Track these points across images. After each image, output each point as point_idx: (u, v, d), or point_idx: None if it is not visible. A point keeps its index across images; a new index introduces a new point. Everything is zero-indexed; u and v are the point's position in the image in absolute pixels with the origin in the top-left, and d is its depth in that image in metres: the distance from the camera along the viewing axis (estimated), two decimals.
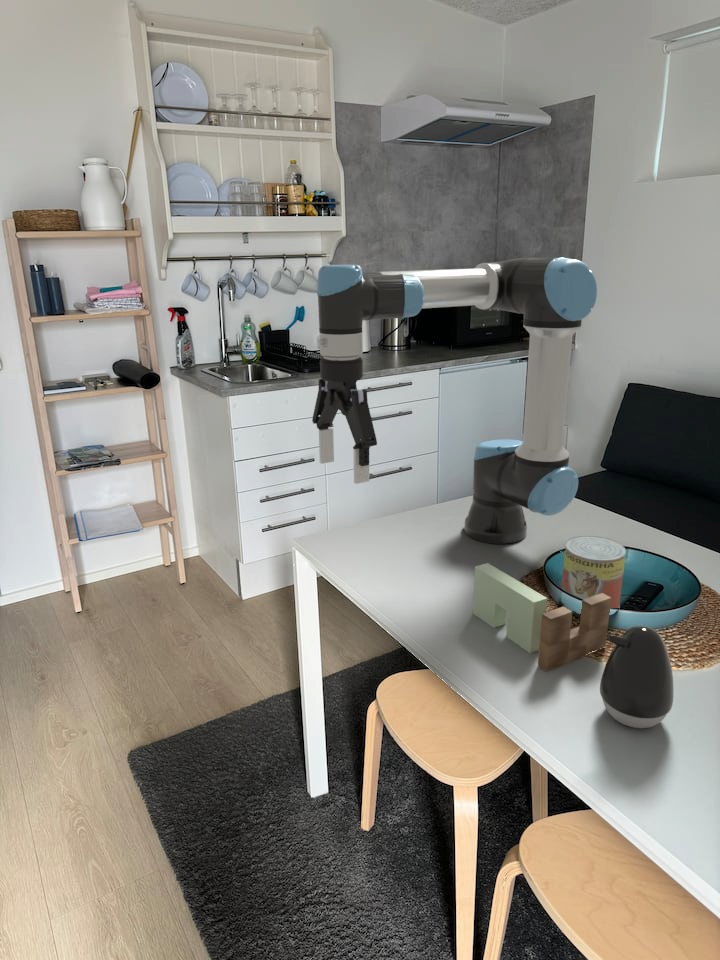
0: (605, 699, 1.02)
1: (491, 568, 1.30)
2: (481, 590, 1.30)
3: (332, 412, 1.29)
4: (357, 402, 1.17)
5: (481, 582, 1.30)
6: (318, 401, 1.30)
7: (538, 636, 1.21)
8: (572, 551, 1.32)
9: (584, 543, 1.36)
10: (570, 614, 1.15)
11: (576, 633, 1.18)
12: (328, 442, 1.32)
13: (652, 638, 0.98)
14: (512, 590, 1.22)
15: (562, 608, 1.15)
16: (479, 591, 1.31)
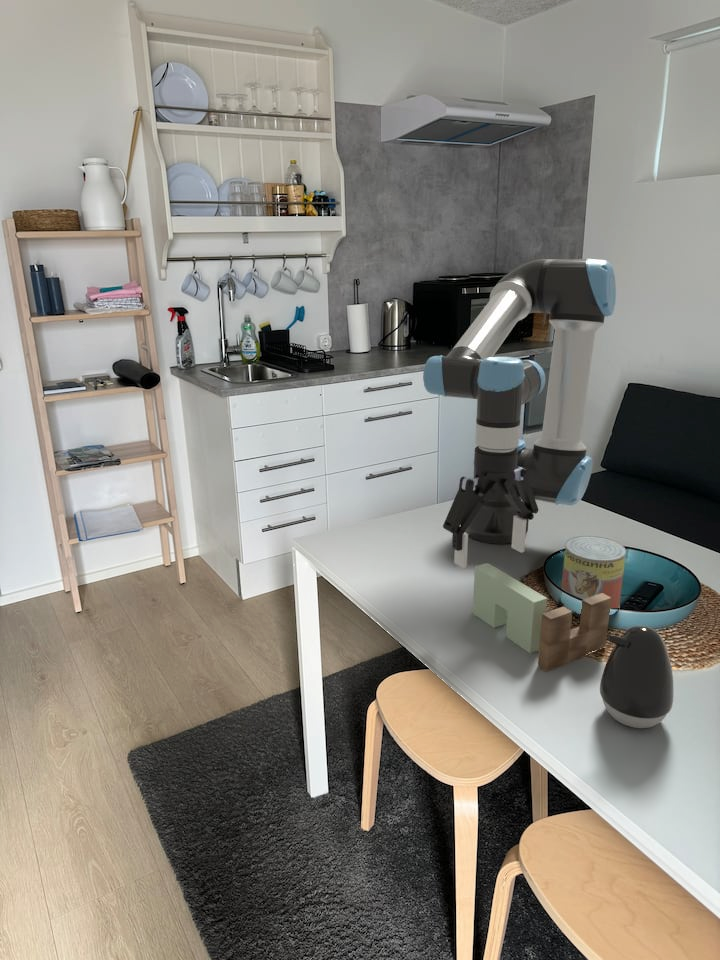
0: (605, 699, 1.02)
1: (491, 568, 1.30)
2: (481, 590, 1.30)
3: (512, 501, 1.27)
4: (460, 488, 1.21)
5: (481, 582, 1.30)
6: None
7: (538, 636, 1.21)
8: (572, 551, 1.32)
9: (584, 543, 1.36)
10: (570, 614, 1.15)
11: (576, 633, 1.18)
12: (518, 531, 1.30)
13: (652, 638, 0.98)
14: (512, 590, 1.22)
15: (562, 608, 1.15)
16: (479, 591, 1.31)
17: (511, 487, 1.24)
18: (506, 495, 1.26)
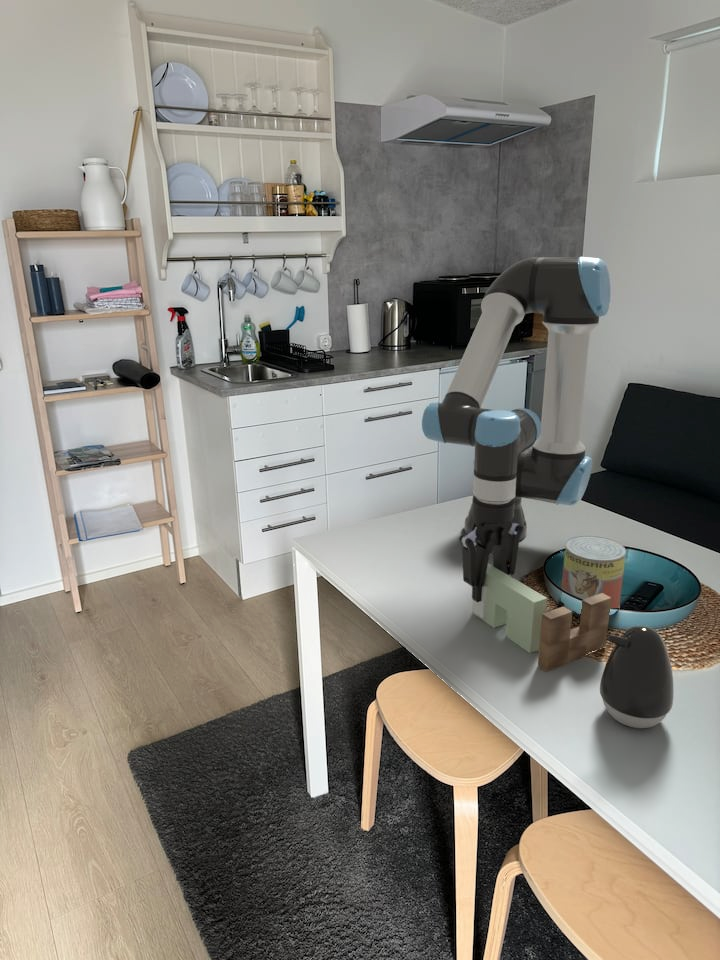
0: (605, 699, 1.02)
1: (491, 568, 1.30)
2: None
3: (497, 555, 1.29)
4: (463, 546, 1.25)
5: None
6: None
7: (538, 636, 1.21)
8: (572, 551, 1.32)
9: (584, 543, 1.36)
10: (570, 614, 1.15)
11: (576, 633, 1.18)
12: None
13: (652, 638, 0.98)
14: (512, 590, 1.22)
15: (562, 608, 1.15)
16: None
17: (505, 539, 1.27)
18: (495, 547, 1.29)
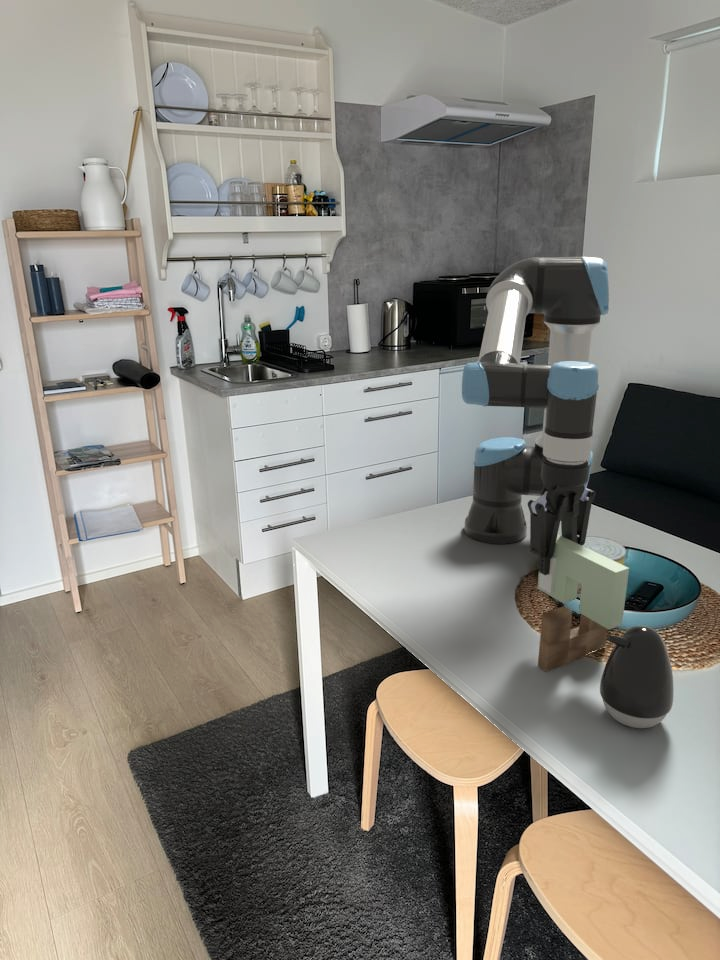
0: (605, 699, 1.02)
1: (560, 538, 1.18)
2: None
3: (567, 524, 1.17)
4: (531, 512, 1.14)
5: None
6: None
7: (618, 611, 1.09)
8: None
9: None
10: (570, 614, 1.15)
11: (576, 633, 1.18)
12: None
13: (652, 638, 0.98)
14: (587, 560, 1.10)
15: (562, 608, 1.15)
16: None
17: (577, 505, 1.15)
18: (565, 514, 1.17)
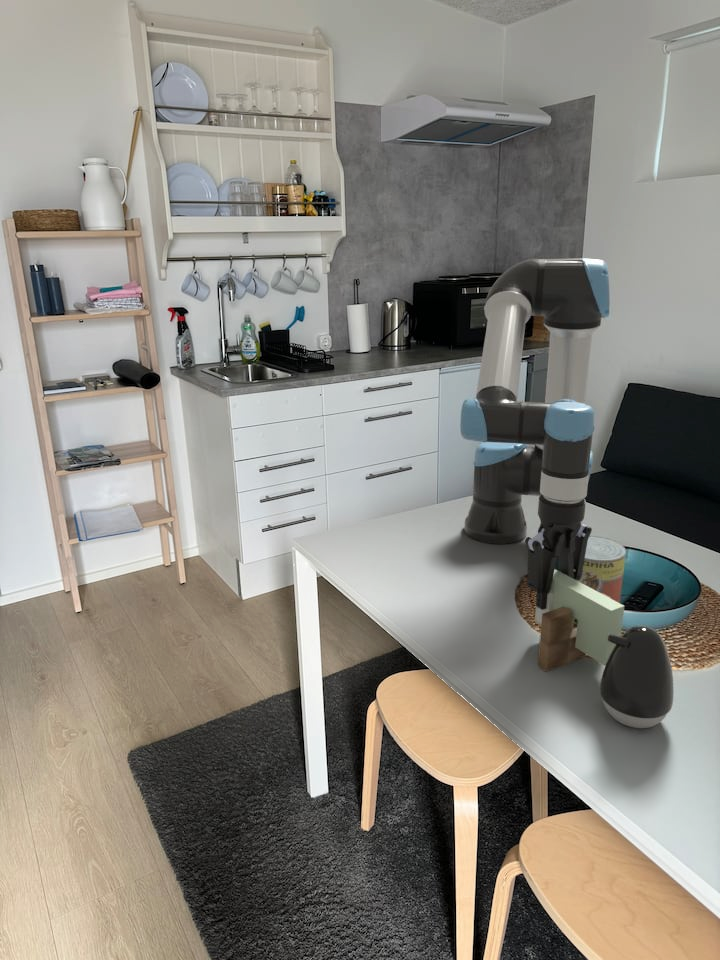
0: (605, 699, 1.02)
1: (557, 573, 1.20)
2: None
3: (564, 559, 1.19)
4: (529, 549, 1.16)
5: None
6: None
7: (613, 647, 1.11)
8: None
9: None
10: (570, 614, 1.15)
11: (576, 633, 1.18)
12: None
13: (652, 638, 0.98)
14: (583, 597, 1.13)
15: (562, 608, 1.15)
16: None
17: (573, 541, 1.17)
18: (561, 550, 1.19)
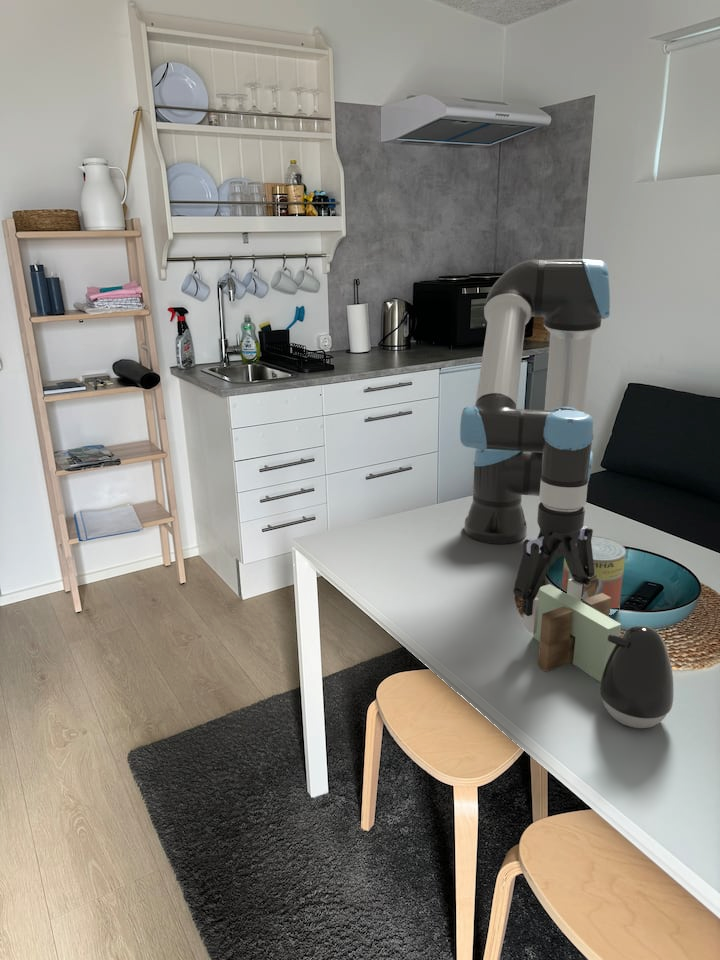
0: (605, 699, 1.02)
1: (555, 590, 1.22)
2: None
3: (571, 562, 1.21)
4: (525, 552, 1.16)
5: (545, 605, 1.21)
6: None
7: None
8: None
9: None
10: (570, 614, 1.15)
11: None
12: (573, 595, 1.24)
13: (652, 638, 0.98)
14: (581, 615, 1.14)
15: (562, 608, 1.15)
16: (541, 614, 1.23)
17: (575, 547, 1.18)
18: (566, 555, 1.20)
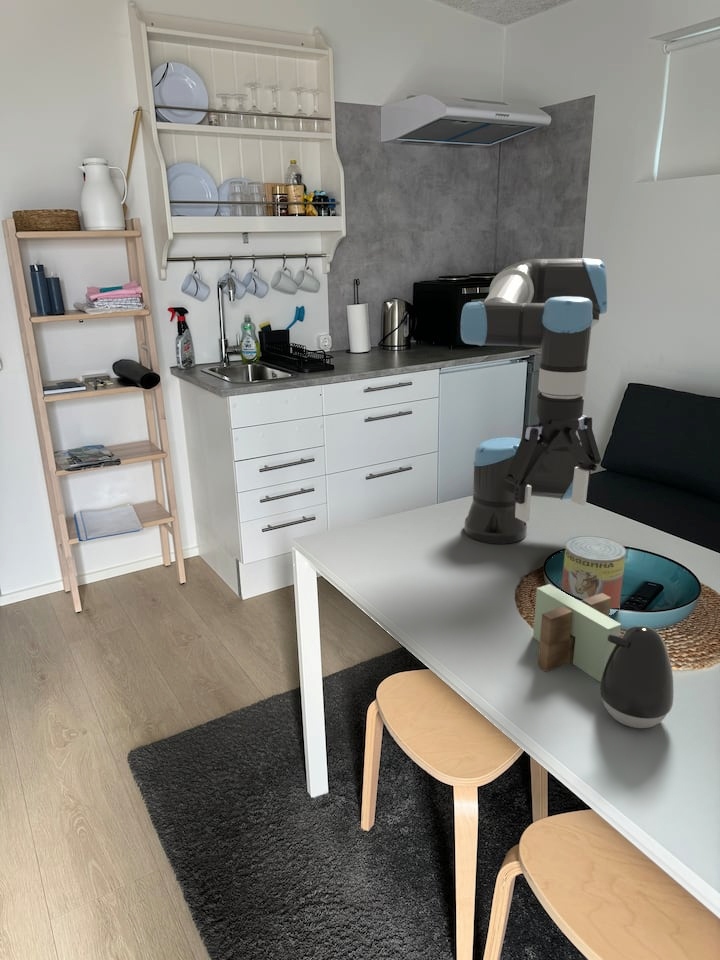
0: (605, 699, 1.02)
1: (555, 590, 1.22)
2: None
3: (574, 451, 1.21)
4: (523, 438, 1.15)
5: (545, 605, 1.21)
6: None
7: None
8: (572, 551, 1.32)
9: (584, 543, 1.36)
10: (570, 614, 1.15)
11: None
12: (580, 483, 1.24)
13: (652, 638, 0.98)
14: (581, 615, 1.14)
15: (562, 608, 1.15)
16: (541, 614, 1.23)
17: (575, 436, 1.17)
18: (569, 445, 1.20)
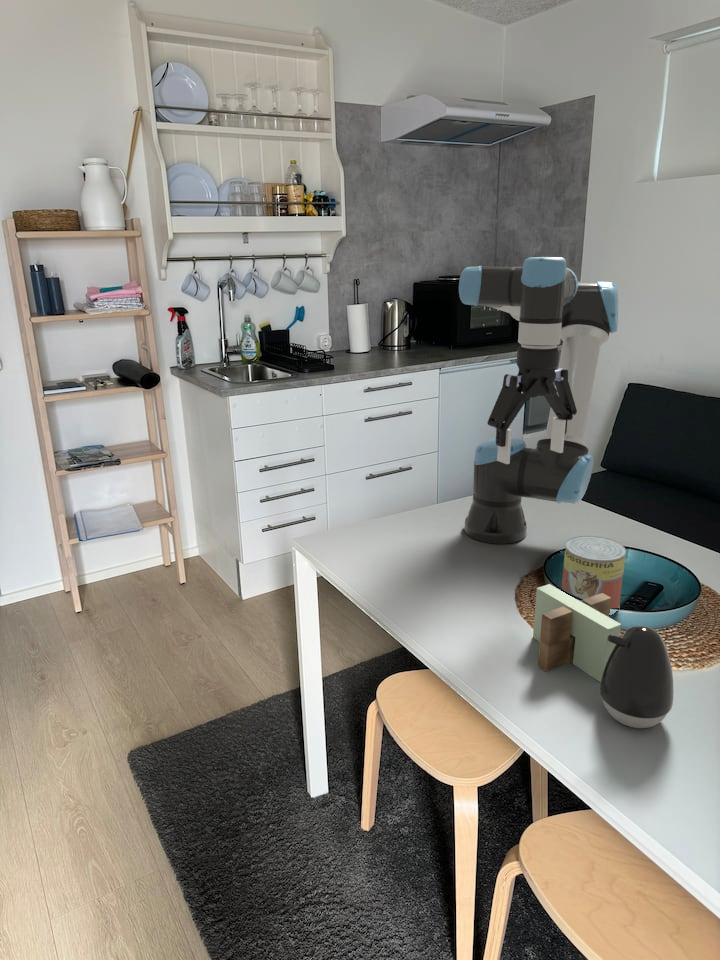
0: (605, 699, 1.02)
1: (555, 590, 1.22)
2: None
3: (552, 401, 1.32)
4: (504, 385, 1.26)
5: (545, 605, 1.21)
6: None
7: None
8: (572, 551, 1.32)
9: (584, 543, 1.36)
10: (570, 614, 1.15)
11: None
12: (557, 432, 1.35)
13: (652, 638, 0.98)
14: (581, 615, 1.14)
15: (562, 608, 1.15)
16: (541, 614, 1.23)
17: (552, 386, 1.29)
18: (546, 395, 1.31)
